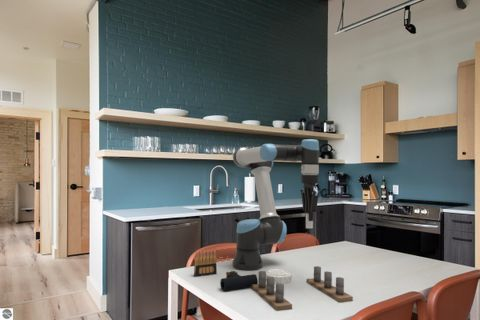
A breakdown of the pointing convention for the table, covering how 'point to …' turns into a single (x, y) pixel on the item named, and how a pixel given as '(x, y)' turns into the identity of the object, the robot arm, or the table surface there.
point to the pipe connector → (237, 281)
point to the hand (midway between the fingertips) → (309, 228)
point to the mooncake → (279, 275)
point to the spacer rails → (278, 298)
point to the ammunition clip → (205, 264)
